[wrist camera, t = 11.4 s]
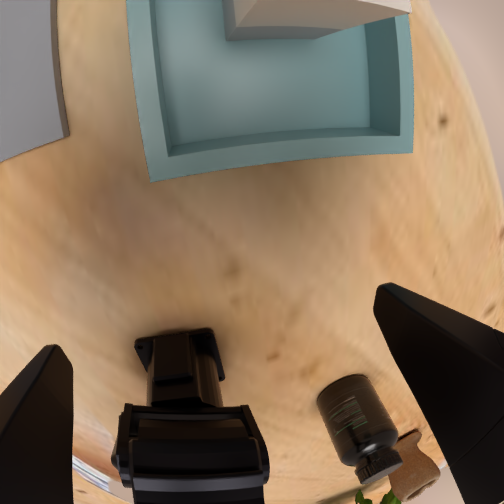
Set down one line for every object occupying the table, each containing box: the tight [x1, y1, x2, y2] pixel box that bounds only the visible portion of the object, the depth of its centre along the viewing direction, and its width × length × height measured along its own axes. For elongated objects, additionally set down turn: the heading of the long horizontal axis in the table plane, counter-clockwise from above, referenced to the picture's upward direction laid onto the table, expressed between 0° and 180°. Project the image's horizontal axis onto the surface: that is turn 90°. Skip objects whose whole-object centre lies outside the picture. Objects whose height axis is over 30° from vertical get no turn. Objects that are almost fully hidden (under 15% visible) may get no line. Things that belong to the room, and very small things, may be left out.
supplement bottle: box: [317, 375, 403, 485], centre depth 27 cm, size 7×7×12 cm
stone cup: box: [388, 432, 440, 502], centre depth 45 cm, size 15×12×15 cm
